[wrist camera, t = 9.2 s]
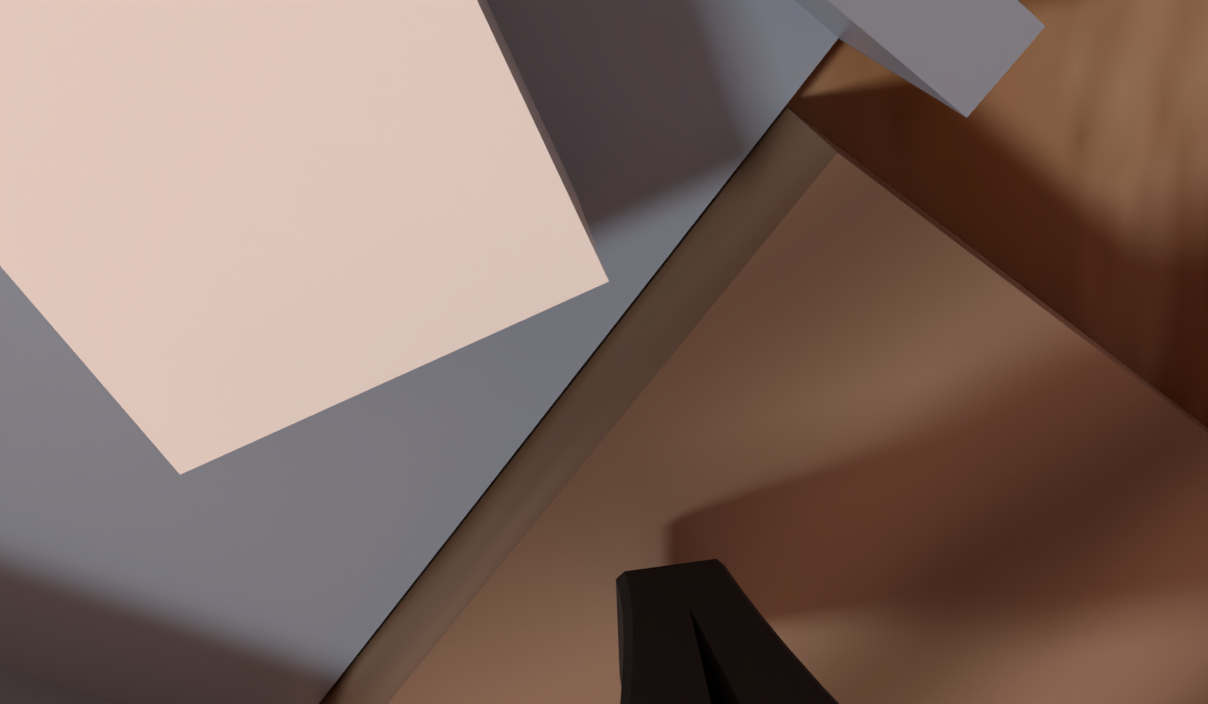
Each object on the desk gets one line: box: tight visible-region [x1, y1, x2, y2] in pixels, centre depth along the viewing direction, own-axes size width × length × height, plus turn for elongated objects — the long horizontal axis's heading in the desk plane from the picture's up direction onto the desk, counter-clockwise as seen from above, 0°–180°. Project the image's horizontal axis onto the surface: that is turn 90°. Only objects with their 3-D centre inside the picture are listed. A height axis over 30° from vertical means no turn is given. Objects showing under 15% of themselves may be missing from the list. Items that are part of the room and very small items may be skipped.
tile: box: [0, 0, 609, 475], centre depth 10 cm, size 5×5×2 cm
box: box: [0, 0, 1045, 704], centre depth 11 cm, size 11×16×4 cm
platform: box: [319, 106, 1208, 704], centre depth 16 cm, size 14×12×2 cm
